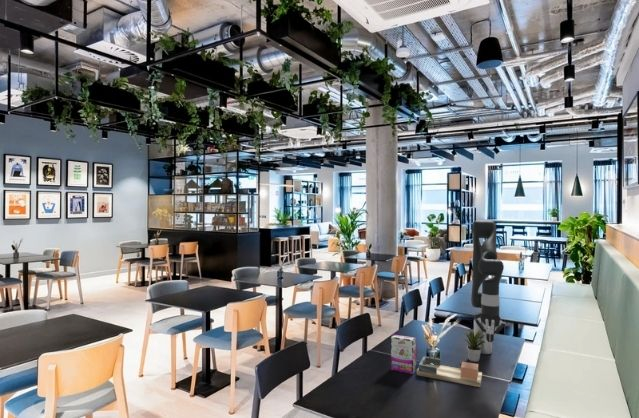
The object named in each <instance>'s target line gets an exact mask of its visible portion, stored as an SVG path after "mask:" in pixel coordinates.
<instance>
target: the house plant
mask: <svg viewBox="0 0 639 418" xmlns="http://www.w3.org/2000/svg"><path fill="white" fill-rule="evenodd" d="M481 332H482V331H480V332H479V330H478V332H477V333H476V335H475V337H474V327H473V328H471V329H470V328H468V332H466V331H464V334H465V336H466V338H468V340H467V339H466V338H462V340H464V342H465V341H466V342H467V343H468V345H467V346H466V351H467V357H468V360H469V361H471V362H475V363H476V362H479V361H480V357H481V354H480V353H481V348H480V347H478V346H479V345H481V344H482V343H485V341H486V340H485V341H483V340H479V341H478V339H481V338H484V335H482V336H483V337H482V336H481V337H480V334H481ZM468 333H469V334H468ZM485 335H486V334H485ZM480 341H482V342H480ZM478 342H480V343H478ZM477 343H478V344H477ZM482 345H483V346H484V344H482Z"/></svg>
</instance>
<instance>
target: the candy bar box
mask: <svg viewBox="0 0 639 418" xmlns="http://www.w3.org/2000/svg"><path fill="white" fill-rule="evenodd" d="M416 344H417V343H416V337H413V336H406V335H399V334H393V335H391V337H390V371H393V370H395V371H394V372H398V371H399V372H398V373H403V372H404V373H403V374H409V375H414V374H415V373H416V371H417V368H416V366H417V362H416Z"/></svg>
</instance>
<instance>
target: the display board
mask: <svg viewBox="0 0 639 418" xmlns="http://www.w3.org/2000/svg"><path fill="white" fill-rule="evenodd" d="M429 357H430V356H422V359H421V360H420V362H419V364H418V368H416V376H421V377H426V378H429V379H430V378H431V379H436V380H441V381H445V382H446V381H447V382H451V383H457V384H462V385H466V386H473V387H478V388H481V386H482V385H481V384H482V379H483V372H482V371H478V378H477V380H475V379H470V378H465V377H461V367H460V368H458V367H453V366H448V365H443V364H442V365H441V358H437V357H436V358H435V357H431V358H429ZM434 358H435V359H434ZM430 363H433V364H434V365H431V364H430Z"/></svg>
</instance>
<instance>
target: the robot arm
mask: <svg viewBox="0 0 639 418" xmlns="http://www.w3.org/2000/svg"><path fill="white" fill-rule="evenodd" d="M480 239H485V241H484V242H483V243H481V241H480ZM472 251H473V252H472V267H471V269H472V285H471V286H472V287H471V295H470V301H471V306H472V307H473V308H477V309H478V308H479V309H480V312H476V313H474V315H473V331H474V337H475V335H476V333H477V332H478V330H479V332H480V331H482V332H481V334H480V337H481V336H482V335H484V338H481V339H478V341H479V340H483V341H485V340H486V341H485V343H482V344H484V346H483V345H482V344H481V345H479V346H478V347H480V348H481V353H480V355H481V354H482V355H490V354H492V350H493V349H492V348H493V345H492V344H493V342H494V341H495V334H499V332H500V331H502V330H503V328H504V327H505V326H506V322H505V321H503V320H502V319H501V317H500V304H501V303H500V284H501V282H500V281H501V278H502V276H503V272H504V269H505V266H504V263H503V262H502V260H500V259H498V252H497V225H496V223H495V221H494V220H489V219H488V220H487V219H486V220H481V219H479V220H474V221H473V223H472ZM489 276H493V277H492V278H490V279H487V278H488V277H489ZM481 286H482V287H481ZM480 287H481V290H479V289H480ZM498 324H499V325H498ZM497 325H498V327H497V328H496V329H495V327H496V326H497ZM485 334H486V335H485ZM482 337H483V336H482ZM480 342H482V341H480ZM480 342H478V343H480ZM478 343H477V344H478Z"/></svg>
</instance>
